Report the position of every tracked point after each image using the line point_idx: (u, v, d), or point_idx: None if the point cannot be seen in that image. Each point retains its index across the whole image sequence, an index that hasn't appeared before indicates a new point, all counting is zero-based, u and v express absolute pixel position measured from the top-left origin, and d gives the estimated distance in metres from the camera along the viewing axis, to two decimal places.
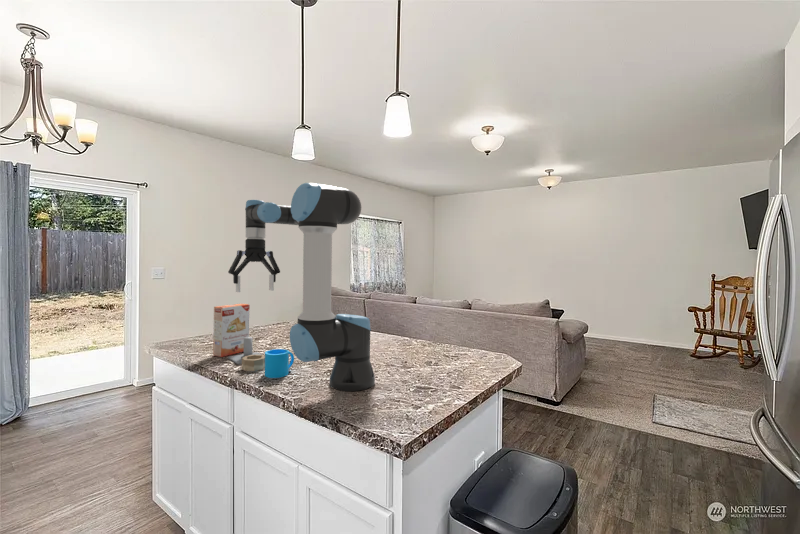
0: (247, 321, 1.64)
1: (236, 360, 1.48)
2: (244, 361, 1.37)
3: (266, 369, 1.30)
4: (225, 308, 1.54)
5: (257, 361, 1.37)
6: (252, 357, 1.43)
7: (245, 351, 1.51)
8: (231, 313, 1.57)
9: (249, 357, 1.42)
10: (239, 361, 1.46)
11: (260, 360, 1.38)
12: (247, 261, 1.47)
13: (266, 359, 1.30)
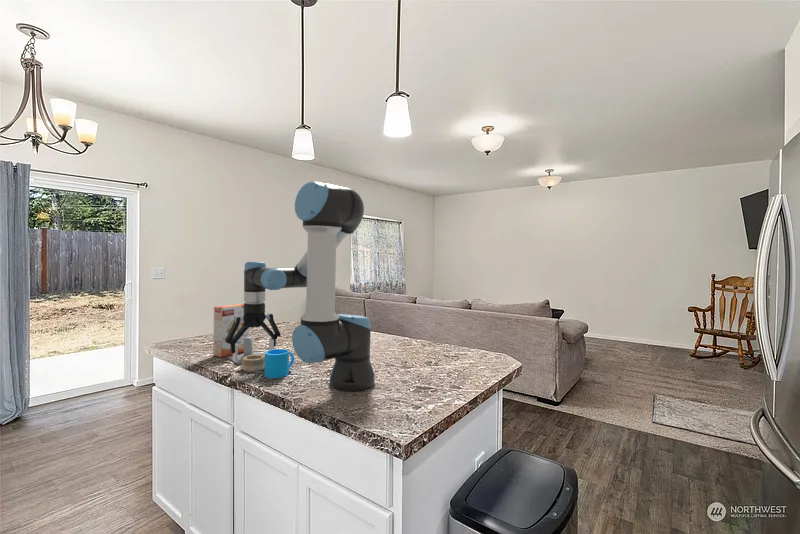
0: None
1: None
2: (244, 361, 1.37)
3: (266, 369, 1.30)
4: (225, 308, 1.54)
5: (257, 361, 1.37)
6: (252, 357, 1.43)
7: (245, 351, 1.51)
8: (231, 313, 1.57)
9: (249, 357, 1.42)
10: (239, 361, 1.46)
11: (260, 360, 1.38)
12: (245, 328, 1.37)
13: (266, 359, 1.30)
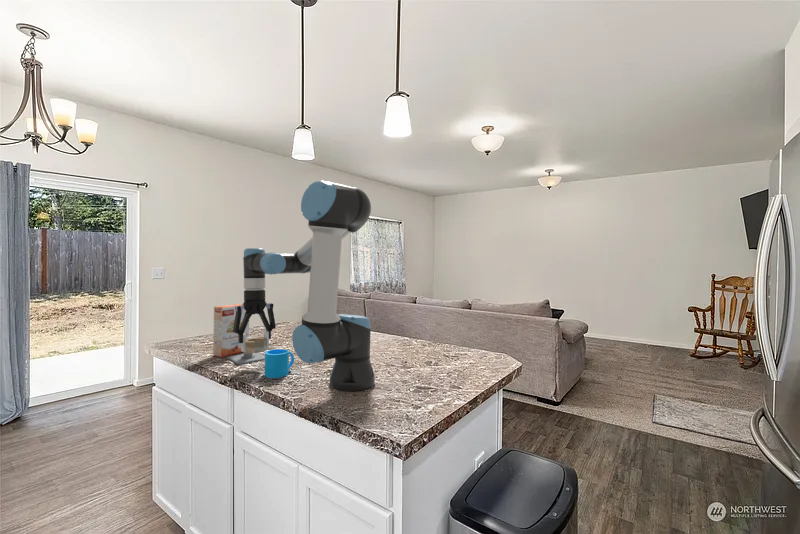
0: None
1: (236, 360, 1.48)
2: None
3: (266, 369, 1.30)
4: (225, 308, 1.54)
5: (258, 343, 1.37)
6: (253, 340, 1.42)
7: None
8: (231, 313, 1.57)
9: (250, 340, 1.41)
10: (239, 361, 1.46)
11: (261, 342, 1.37)
12: (248, 316, 1.37)
13: (266, 359, 1.30)
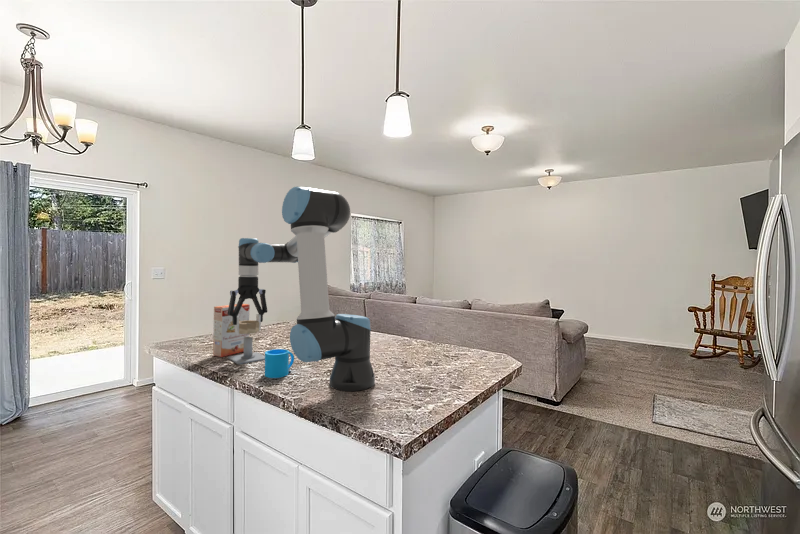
0: None
1: (236, 360, 1.48)
2: None
3: (266, 369, 1.30)
4: (225, 308, 1.54)
5: (250, 325, 1.49)
6: (246, 322, 1.55)
7: (245, 351, 1.51)
8: None
9: (243, 322, 1.54)
10: (239, 361, 1.46)
11: (253, 324, 1.50)
12: (242, 300, 1.49)
13: (266, 359, 1.30)
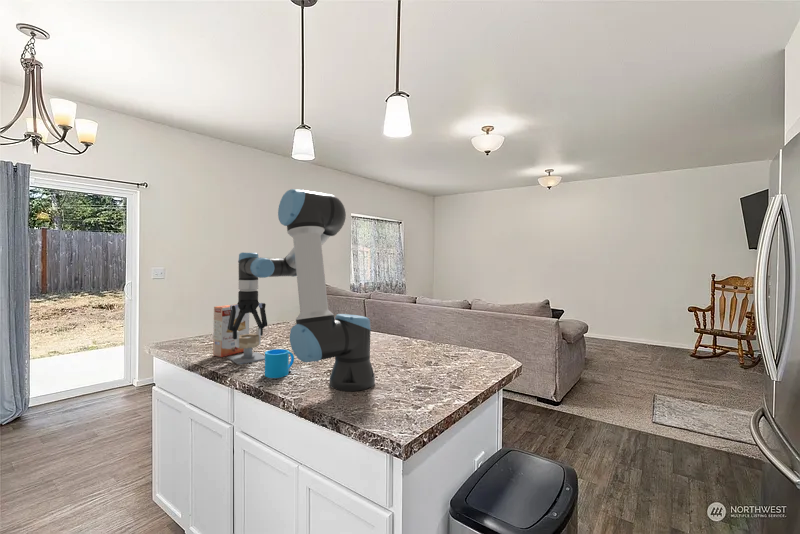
0: (247, 321, 1.64)
1: (236, 360, 1.48)
2: None
3: (266, 369, 1.30)
4: (225, 308, 1.54)
5: (250, 339, 1.49)
6: (246, 336, 1.55)
7: (245, 351, 1.51)
8: None
9: (243, 336, 1.54)
10: (239, 361, 1.46)
11: (253, 338, 1.50)
12: (242, 315, 1.49)
13: (266, 359, 1.30)
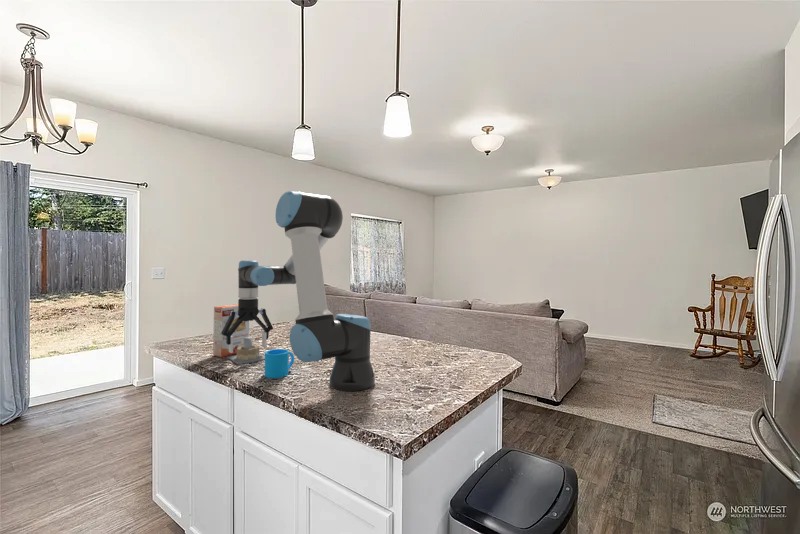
0: (247, 321, 1.64)
1: (236, 360, 1.48)
2: (238, 351, 1.49)
3: (266, 369, 1.30)
4: (225, 308, 1.54)
5: (250, 351, 1.49)
6: None
7: None
8: None
9: (243, 347, 1.54)
10: (239, 361, 1.46)
11: (253, 350, 1.50)
12: (240, 321, 1.49)
13: (266, 359, 1.30)
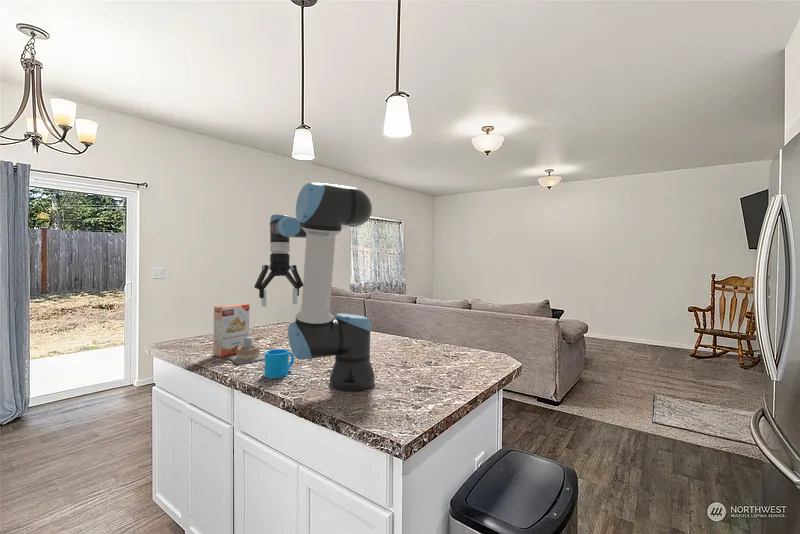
0: (247, 321, 1.64)
1: (236, 360, 1.48)
2: (238, 351, 1.49)
3: (266, 369, 1.30)
4: (225, 308, 1.54)
5: (250, 351, 1.49)
6: None
7: None
8: (231, 313, 1.57)
9: (243, 347, 1.54)
10: (239, 361, 1.46)
11: (253, 350, 1.50)
12: (272, 275, 1.48)
13: (266, 359, 1.30)
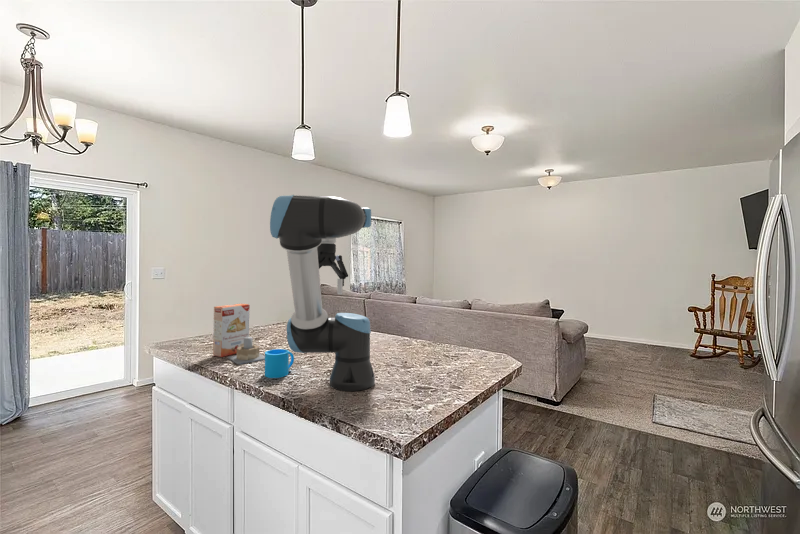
0: (247, 321, 1.64)
1: (236, 360, 1.48)
2: (238, 351, 1.49)
3: (266, 369, 1.30)
4: (225, 308, 1.54)
5: (250, 351, 1.49)
6: None
7: None
8: (231, 313, 1.57)
9: (243, 347, 1.54)
10: (239, 361, 1.46)
11: (253, 350, 1.50)
12: (320, 265, 1.48)
13: (266, 359, 1.30)
